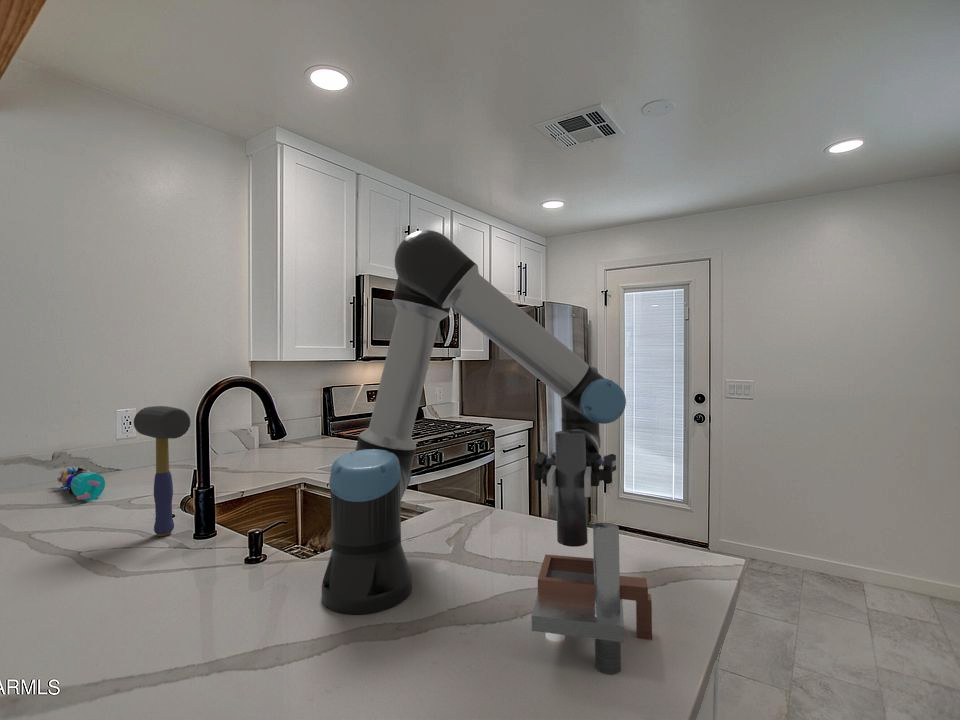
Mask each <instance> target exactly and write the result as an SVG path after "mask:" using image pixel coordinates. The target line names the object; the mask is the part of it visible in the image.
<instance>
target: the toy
mask: <svg viewBox="0 0 960 720" xmlns="http://www.w3.org/2000/svg"><path fill="white" fill-rule="evenodd" d="M66 469H67V470H66ZM66 469H62V470H61V471H59V475H60V477H57V479H56V480H57V481H58V482H59V483H58V484H60V483H61V484H62V486H60V487H59V488H60V489H64V488H65V489H64V491H67V490H68V493H69V494H71V495H72V497H76V499H77V500H82V501H85V502H90V501H95V500H96V499H97V498H99V497H101V495H102V493H103V492H104V490H105V488H106V480H105V477H103V476H102V475H101V474H99V473H95V472H89V471H88V470H87V469H84V468H81V467H80V466H78V467H77V469H76V468H75V467H74V466H72V467H71V468H66Z"/></svg>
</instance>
